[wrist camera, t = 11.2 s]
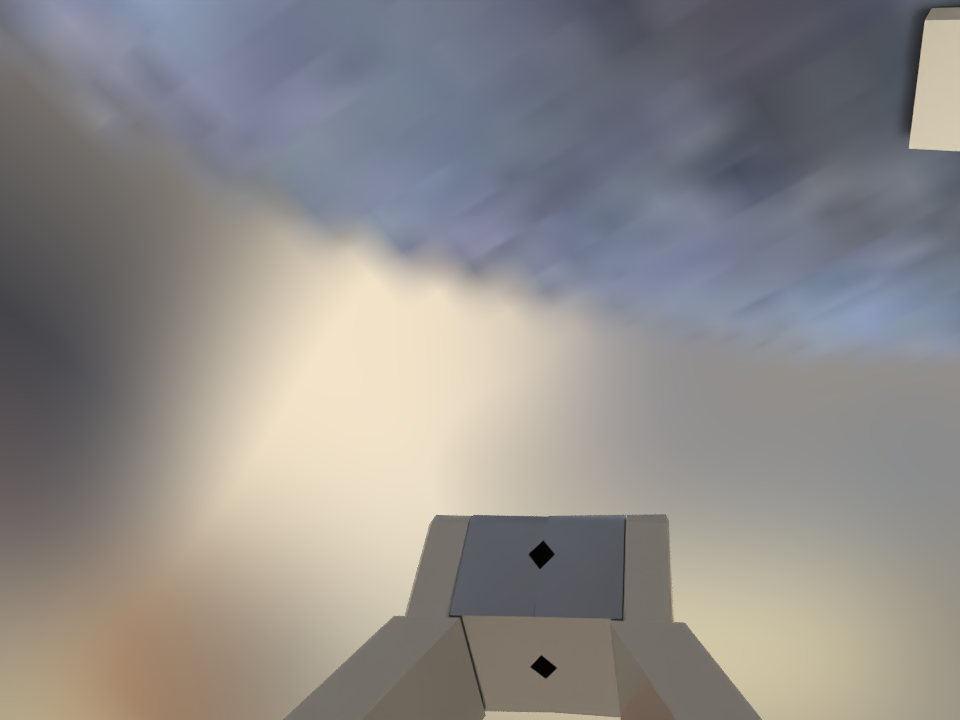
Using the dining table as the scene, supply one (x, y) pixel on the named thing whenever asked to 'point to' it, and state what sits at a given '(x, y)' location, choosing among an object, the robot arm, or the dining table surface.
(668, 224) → the dining table surface
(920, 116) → the domino
